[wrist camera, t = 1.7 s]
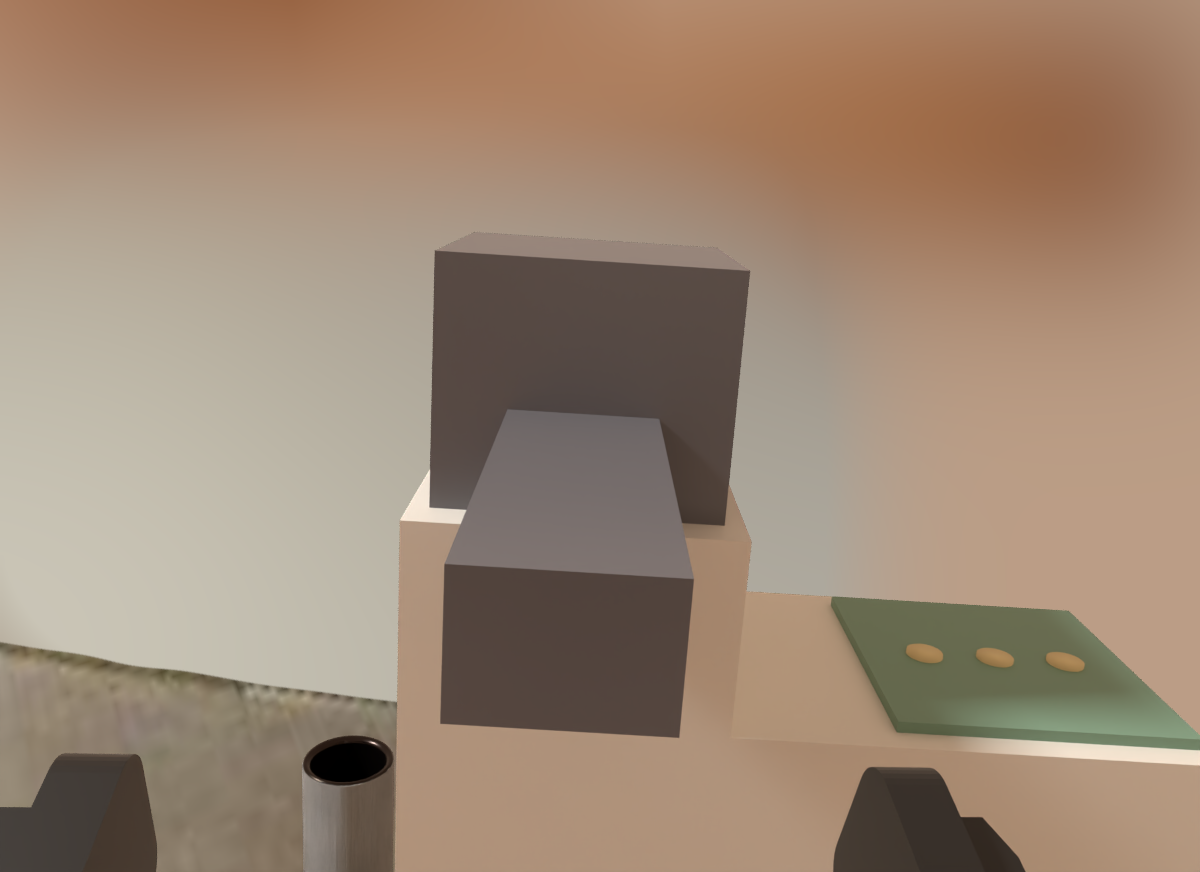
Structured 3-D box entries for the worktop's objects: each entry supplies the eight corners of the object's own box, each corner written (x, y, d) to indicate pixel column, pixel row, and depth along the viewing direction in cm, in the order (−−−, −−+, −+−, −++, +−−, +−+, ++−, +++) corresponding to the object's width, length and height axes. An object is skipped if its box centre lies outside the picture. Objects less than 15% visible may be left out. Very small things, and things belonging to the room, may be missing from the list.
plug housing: (319, 716, 15) (317, 306, 13) (468, 433, 31) (474, 232, 29) (798, 744, 15) (849, 339, 13) (698, 447, 31) (716, 247, 29)
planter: (356, 888, 57) (356, 724, 55) (409, 928, 55) (412, 758, 52) (286, 930, 54) (283, 758, 51) (339, 975, 51) (339, 796, 49)
